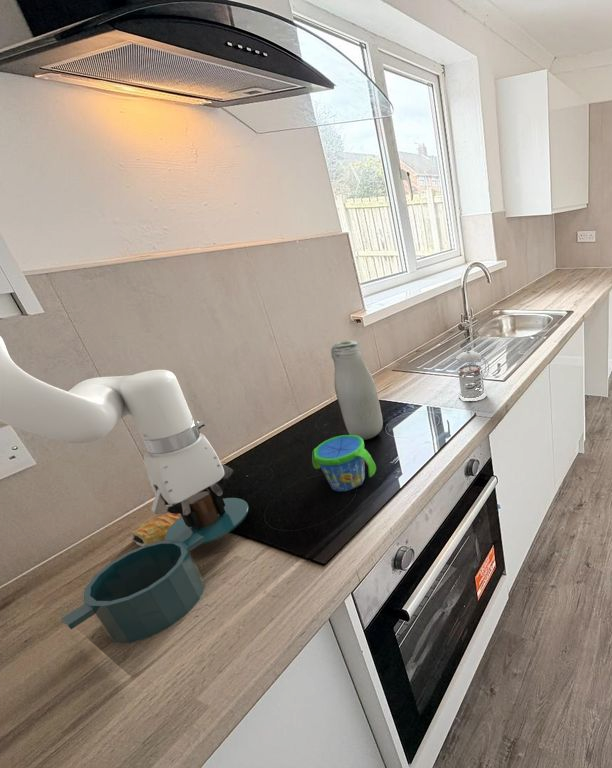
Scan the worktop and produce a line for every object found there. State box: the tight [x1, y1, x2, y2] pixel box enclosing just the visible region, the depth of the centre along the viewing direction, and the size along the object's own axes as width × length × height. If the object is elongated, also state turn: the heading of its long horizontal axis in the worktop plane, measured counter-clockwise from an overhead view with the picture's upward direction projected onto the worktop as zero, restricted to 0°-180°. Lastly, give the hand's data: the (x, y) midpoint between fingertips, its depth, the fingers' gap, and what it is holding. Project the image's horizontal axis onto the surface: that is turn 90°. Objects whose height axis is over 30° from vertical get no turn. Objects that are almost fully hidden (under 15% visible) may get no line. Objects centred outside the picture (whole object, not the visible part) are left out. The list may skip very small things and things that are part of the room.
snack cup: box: [311, 434, 377, 493], centre depth 94 cm, size 16×10×10 cm
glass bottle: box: [330, 340, 384, 441], centre depth 110 cm, size 10×10×28 cm
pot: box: [60, 533, 206, 644], centre depth 66 cm, size 13×18×8 cm
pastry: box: [130, 513, 181, 547], centre depth 84 cm, size 9×7×4 cm
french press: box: [455, 321, 490, 403], centre depth 132 cm, size 10×12×25 cm
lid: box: [165, 490, 250, 547], centre depth 80 cm, size 14×14×7 cm
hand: (207, 518), depth 81 cm, fingers closed on lid, 3 cm apart
